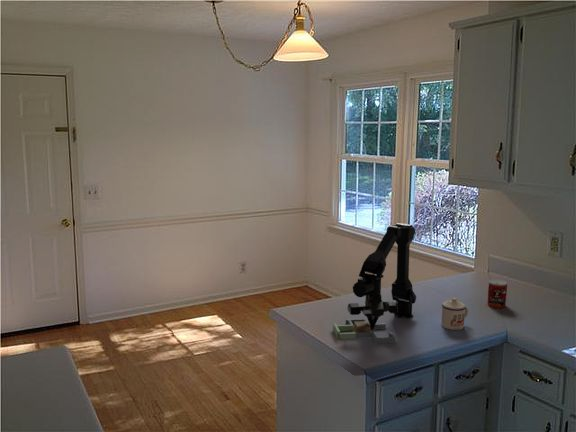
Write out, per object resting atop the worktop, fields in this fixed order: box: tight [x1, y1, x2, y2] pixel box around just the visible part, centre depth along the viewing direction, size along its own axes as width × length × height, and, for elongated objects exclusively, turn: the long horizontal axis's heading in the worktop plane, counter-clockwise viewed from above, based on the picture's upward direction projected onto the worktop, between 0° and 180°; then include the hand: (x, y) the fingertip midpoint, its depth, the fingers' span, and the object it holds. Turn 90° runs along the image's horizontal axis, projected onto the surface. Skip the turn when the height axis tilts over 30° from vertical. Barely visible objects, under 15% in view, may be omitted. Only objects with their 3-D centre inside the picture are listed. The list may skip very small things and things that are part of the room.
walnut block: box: [353, 320, 371, 332], centre depth 210 cm, size 5×5×4 cm
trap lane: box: [332, 318, 396, 345], centre depth 210 cm, size 21×20×3 cm
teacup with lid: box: [441, 297, 469, 331], centre depth 218 cm, size 12×9×12 cm
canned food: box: [487, 279, 508, 309], centre depth 241 cm, size 8×8×11 cm
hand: (372, 329), depth 211 cm, fingers closed
